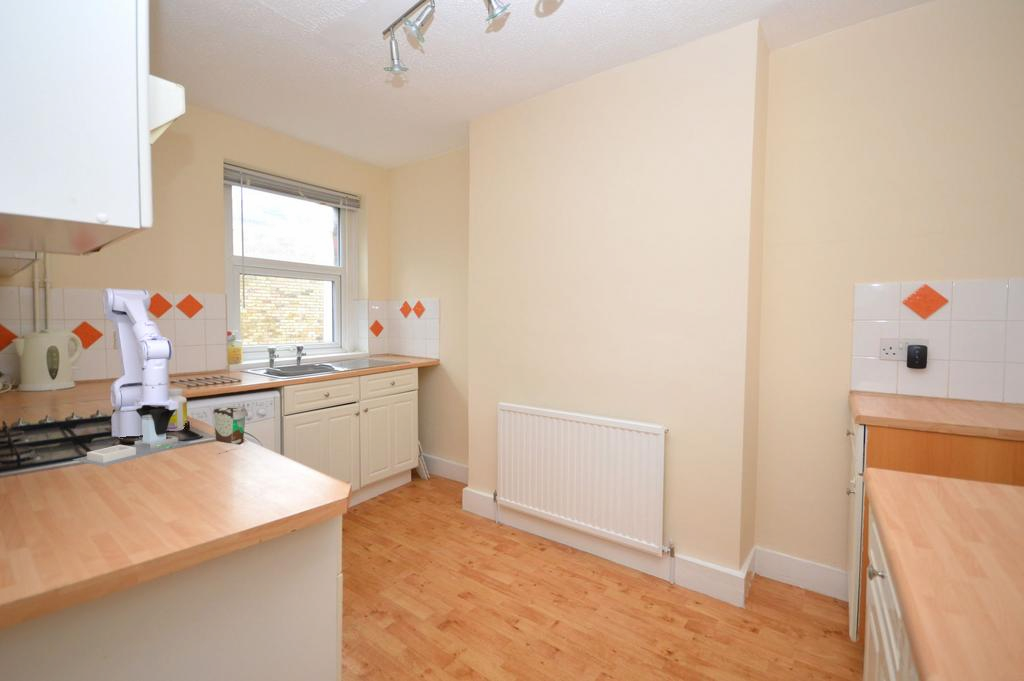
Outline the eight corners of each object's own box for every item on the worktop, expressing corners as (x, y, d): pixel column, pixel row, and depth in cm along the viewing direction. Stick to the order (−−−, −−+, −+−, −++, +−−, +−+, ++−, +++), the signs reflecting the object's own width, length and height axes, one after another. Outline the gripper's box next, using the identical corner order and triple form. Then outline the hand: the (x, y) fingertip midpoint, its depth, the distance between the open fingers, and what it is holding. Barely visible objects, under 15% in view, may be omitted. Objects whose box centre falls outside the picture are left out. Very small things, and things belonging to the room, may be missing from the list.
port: (134, 447, 120) (134, 441, 120) (162, 441, 127) (162, 434, 127) (155, 451, 118) (155, 444, 118) (183, 444, 125) (183, 438, 124)
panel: (72, 463, 110) (72, 459, 110) (162, 441, 130) (162, 438, 130) (104, 470, 106) (104, 466, 106) (192, 446, 126) (192, 443, 126)
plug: (142, 445, 121) (141, 415, 120) (158, 441, 125) (157, 412, 124) (150, 446, 120) (149, 416, 119) (166, 442, 124) (165, 413, 123)
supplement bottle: (181, 426, 147) (180, 387, 146) (191, 429, 144) (190, 389, 143) (156, 430, 141) (156, 389, 141) (167, 433, 138) (166, 392, 137)
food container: (256, 443, 131) (256, 409, 131) (234, 448, 126) (234, 412, 125) (234, 436, 138) (234, 403, 137) (212, 440, 132) (212, 406, 132)
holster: (87, 459, 111) (86, 452, 110) (120, 451, 117) (120, 444, 117) (103, 462, 109) (103, 455, 108) (136, 454, 115) (135, 447, 115)
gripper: (120, 383, 120) (122, 433, 121) (158, 388, 116) (159, 440, 117) (149, 380, 127) (150, 427, 128) (186, 384, 122) (186, 433, 123)
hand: (156, 433), depth 123 cm, fingers closed on plug, 3 cm apart
